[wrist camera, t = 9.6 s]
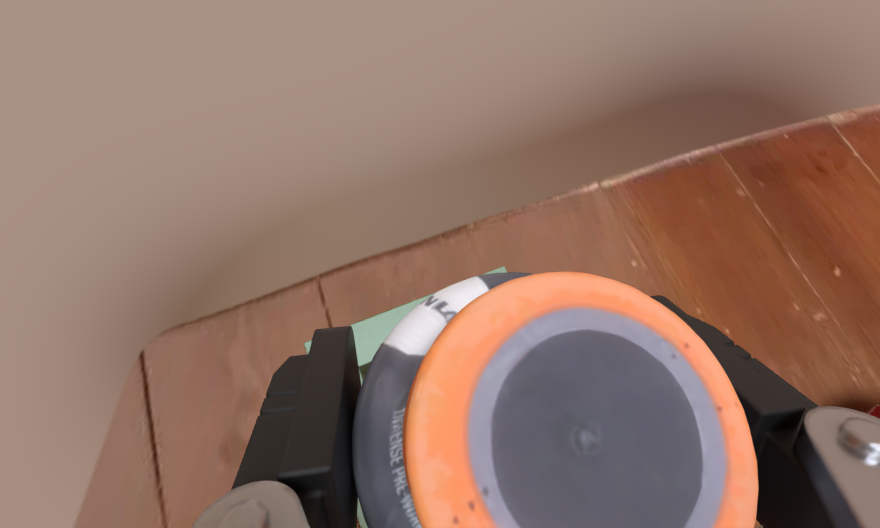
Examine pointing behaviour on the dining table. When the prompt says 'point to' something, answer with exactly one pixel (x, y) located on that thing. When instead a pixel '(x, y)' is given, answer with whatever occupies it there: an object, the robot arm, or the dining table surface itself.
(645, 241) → the dining table surface
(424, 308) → the pill bottle
